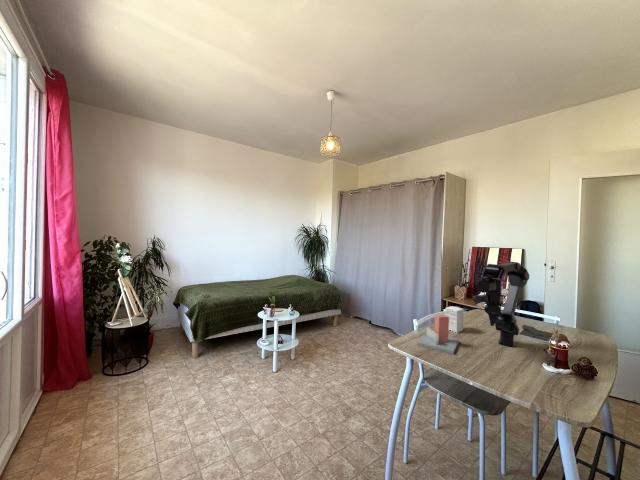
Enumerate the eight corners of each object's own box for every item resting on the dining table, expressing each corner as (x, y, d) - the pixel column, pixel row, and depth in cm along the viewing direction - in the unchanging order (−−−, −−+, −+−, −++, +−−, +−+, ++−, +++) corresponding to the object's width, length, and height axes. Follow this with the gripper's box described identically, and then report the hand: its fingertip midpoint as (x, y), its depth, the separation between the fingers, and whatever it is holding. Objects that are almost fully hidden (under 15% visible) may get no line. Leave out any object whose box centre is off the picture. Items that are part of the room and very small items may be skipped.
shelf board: (426, 334, 146) (426, 331, 146) (458, 341, 137) (459, 339, 137) (417, 345, 131) (417, 342, 131) (453, 354, 122) (453, 351, 122)
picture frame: (523, 329, 160) (513, 337, 147) (523, 324, 160) (514, 332, 146) (558, 337, 148) (551, 347, 135) (558, 332, 148) (551, 341, 135)
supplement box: (451, 326, 159) (452, 305, 159) (463, 330, 153) (464, 308, 153) (444, 328, 155) (444, 307, 155) (456, 333, 149) (457, 310, 149)
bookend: (426, 336, 139) (426, 327, 139) (428, 336, 139) (429, 327, 139) (435, 344, 129) (436, 334, 129) (438, 344, 129) (438, 334, 129)
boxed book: (443, 338, 136) (444, 314, 136) (447, 342, 132) (449, 317, 132) (434, 338, 136) (435, 314, 136) (438, 342, 132) (439, 317, 132)
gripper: (476, 285, 139) (474, 315, 140) (472, 291, 124) (471, 324, 124) (502, 288, 133) (500, 319, 133) (501, 295, 118) (499, 330, 118)
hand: (492, 323), depth 128 cm, fingers open, 9 cm apart
